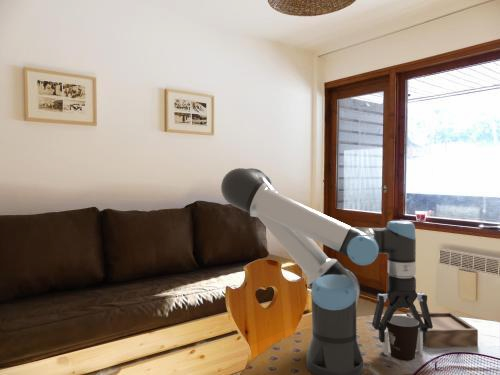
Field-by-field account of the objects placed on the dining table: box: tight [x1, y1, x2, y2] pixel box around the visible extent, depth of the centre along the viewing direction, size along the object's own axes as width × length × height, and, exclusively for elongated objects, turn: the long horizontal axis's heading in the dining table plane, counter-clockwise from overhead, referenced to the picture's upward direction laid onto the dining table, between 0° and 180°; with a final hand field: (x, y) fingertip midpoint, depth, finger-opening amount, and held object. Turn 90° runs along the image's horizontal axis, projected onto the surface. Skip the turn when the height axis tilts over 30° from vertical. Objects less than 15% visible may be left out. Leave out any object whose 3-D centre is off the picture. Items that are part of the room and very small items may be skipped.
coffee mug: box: [386, 314, 419, 362], centre depth 110 cm, size 12×9×10 cm
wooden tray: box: [406, 311, 479, 348], centre depth 121 cm, size 15×15×5 cm
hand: (402, 352), depth 110 cm, fingers open, 9 cm apart
